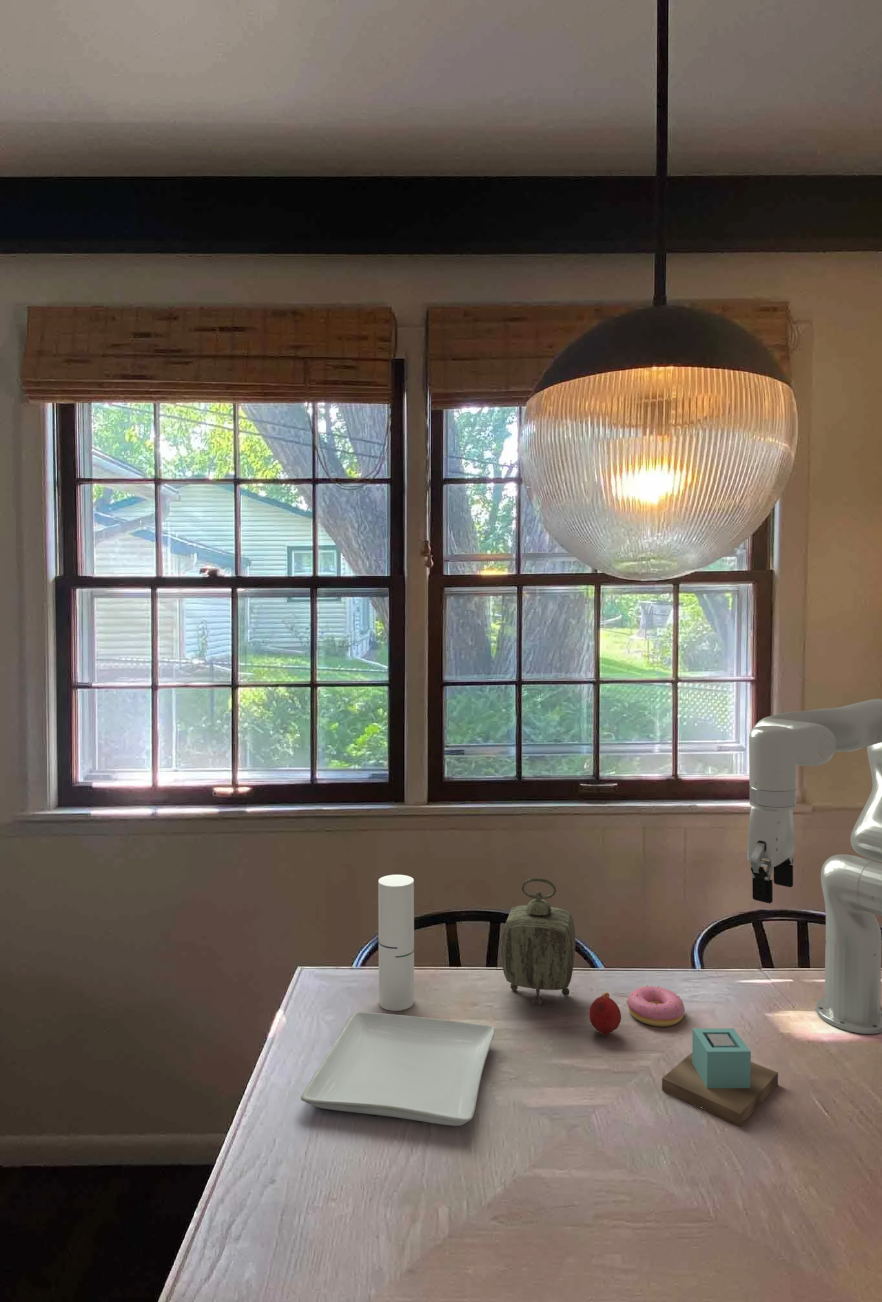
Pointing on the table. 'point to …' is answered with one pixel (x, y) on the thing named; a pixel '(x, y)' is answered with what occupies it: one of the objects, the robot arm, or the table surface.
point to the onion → (604, 1014)
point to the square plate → (403, 1068)
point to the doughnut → (655, 1006)
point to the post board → (720, 1101)
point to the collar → (721, 1060)
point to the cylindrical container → (396, 942)
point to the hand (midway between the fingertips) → (773, 893)
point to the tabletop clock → (538, 945)
